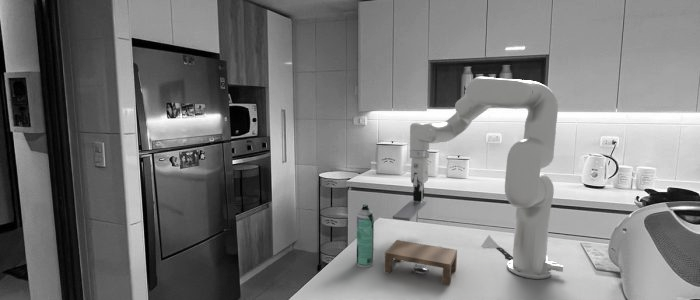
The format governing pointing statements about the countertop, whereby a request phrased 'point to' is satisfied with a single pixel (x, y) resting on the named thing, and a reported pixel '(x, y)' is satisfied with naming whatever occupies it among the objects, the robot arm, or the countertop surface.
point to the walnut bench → (422, 257)
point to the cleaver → (492, 244)
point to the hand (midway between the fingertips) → (418, 199)
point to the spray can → (365, 237)
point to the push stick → (410, 209)
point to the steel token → (420, 269)
